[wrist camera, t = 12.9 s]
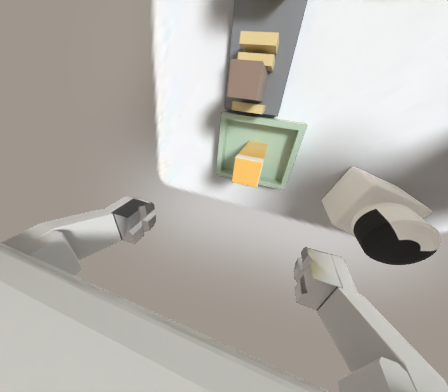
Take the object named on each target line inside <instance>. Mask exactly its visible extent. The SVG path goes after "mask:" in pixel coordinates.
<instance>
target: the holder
mask: <svg viewBox="0 0 448 392" xmlns="http://www.w3.org/2000/svg"><path fill="white" fill-rule="evenodd" d="M306 4H307V0H235V4H234V15H233V25H232V36H231V46H230V56H229V67H228V77H227V87H226V98H225V109H232V110H234V111H242V112H249V113H256V114H268V115H275V116H278V113H279V109H280V106H281V102H282V98H283V94H284V90H285V86H286V82H287V78H288V74H289V70H290V66H291V63H292V59H293V55H294V51H295V47H296V43H297V39H298V35H299V31H300V27H301V24H302V20H303V16H304V12H305V8H306Z"/></svg>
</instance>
